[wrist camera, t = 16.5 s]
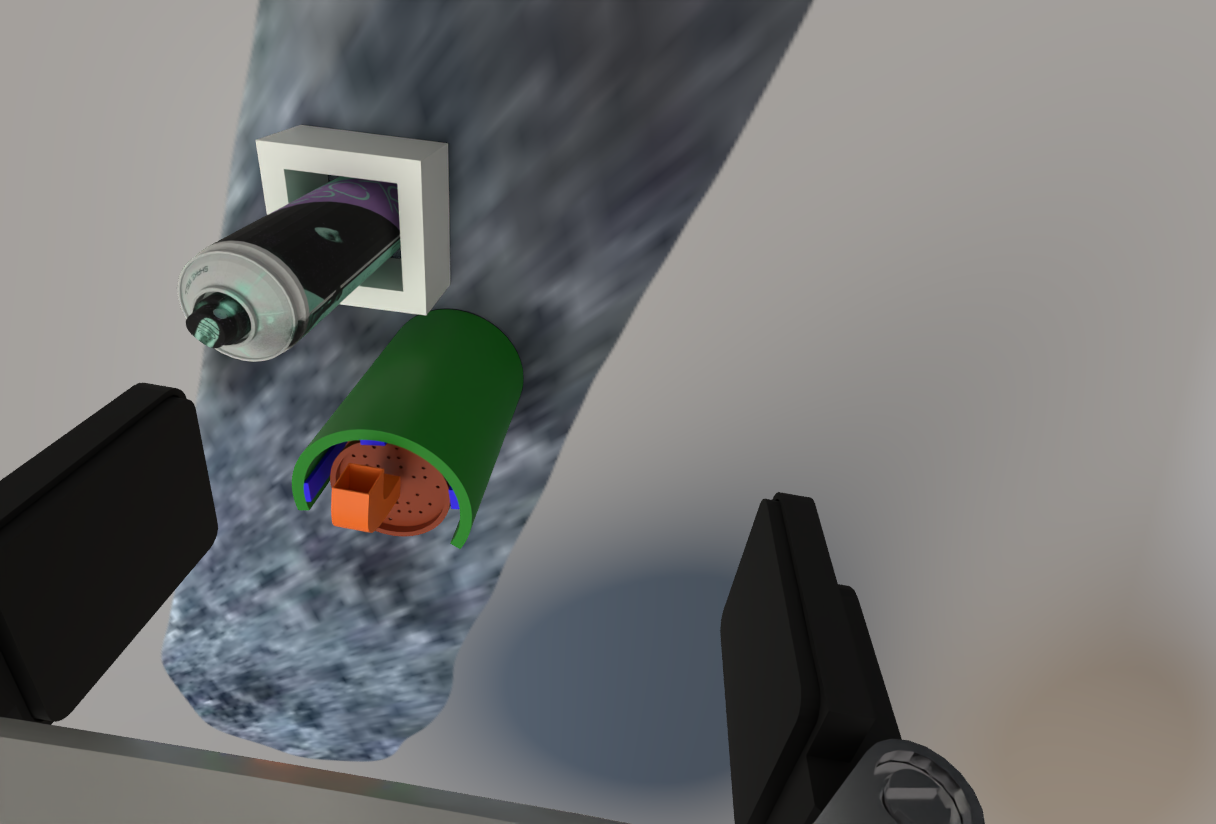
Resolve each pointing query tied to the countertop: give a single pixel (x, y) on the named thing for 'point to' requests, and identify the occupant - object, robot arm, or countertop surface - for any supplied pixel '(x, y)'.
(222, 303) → the spray can
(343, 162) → the square frame
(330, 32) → the countertop surface
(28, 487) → the robot arm
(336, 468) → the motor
